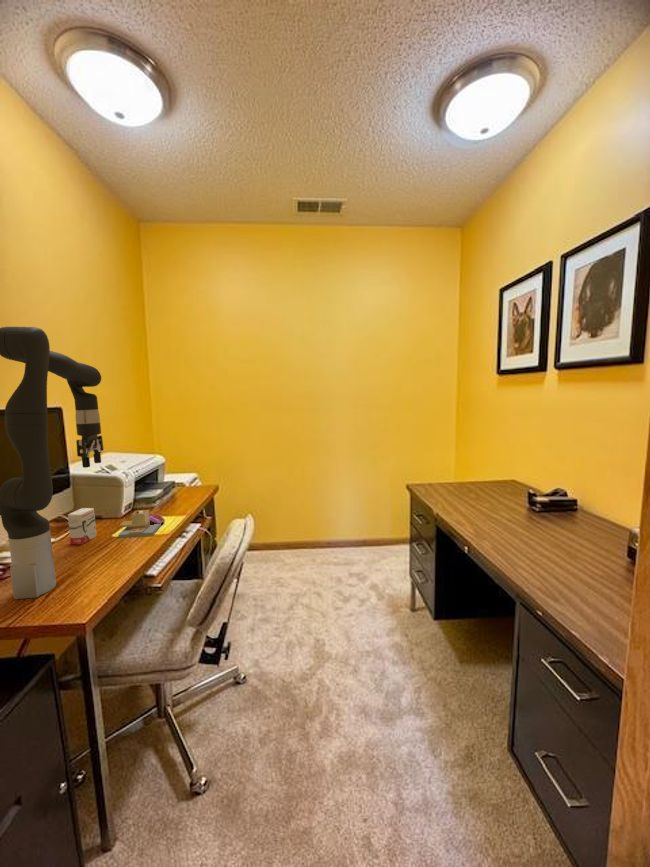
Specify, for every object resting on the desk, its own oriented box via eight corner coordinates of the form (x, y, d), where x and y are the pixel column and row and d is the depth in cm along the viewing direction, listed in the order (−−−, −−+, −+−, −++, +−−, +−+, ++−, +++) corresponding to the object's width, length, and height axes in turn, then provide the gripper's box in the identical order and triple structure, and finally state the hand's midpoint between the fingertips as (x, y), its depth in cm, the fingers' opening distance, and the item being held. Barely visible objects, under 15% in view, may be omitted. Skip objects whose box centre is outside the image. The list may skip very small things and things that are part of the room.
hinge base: (153, 535, 144) (151, 515, 143) (118, 537, 142) (116, 518, 141) (163, 522, 157) (162, 505, 156) (132, 525, 156) (130, 507, 155)
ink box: (82, 544, 136) (79, 514, 134) (70, 545, 136) (66, 515, 135) (97, 535, 144) (94, 507, 143) (85, 536, 144) (82, 507, 143)
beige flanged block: (149, 521, 152) (148, 509, 151) (145, 525, 147) (144, 513, 146) (124, 522, 151) (123, 511, 150) (119, 527, 146) (118, 515, 145)
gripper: (89, 423, 126) (93, 468, 128) (107, 420, 140) (111, 461, 142) (66, 424, 125) (70, 469, 127) (87, 420, 139) (91, 462, 141)
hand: (92, 465), depth 135 cm, fingers open, 8 cm apart
